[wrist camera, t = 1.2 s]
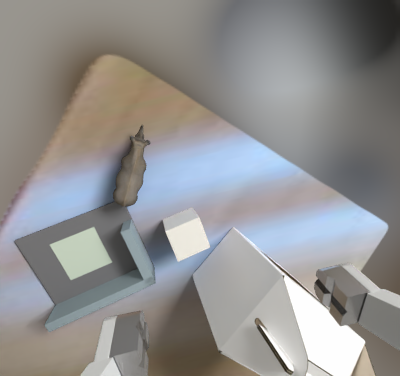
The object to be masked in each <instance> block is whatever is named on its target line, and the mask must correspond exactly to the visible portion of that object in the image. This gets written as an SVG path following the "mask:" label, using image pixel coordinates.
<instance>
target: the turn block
mask: <svg viewBox="0 0 400 376" xmlns="http://www.w3.org/2000/svg"><path fill="white" fill-rule="evenodd" d="M163 223H164V228H165V232H166V234H167V237H168V239H169V241H170V244H171V246H172V248H173V251H174V253H175V255H176V258H177V260H178V262H179V261H181V260H183V259H185V258H188V257H190V256H192V255H194V254H197V253H199V252H201V251H203V250H205V249H208V248H210V245H209V242H208V239H207V237H206V234H205V231H204V229H203V226H202V223H201V221H200V218H199V216H198V215H197V213H196V212H195V211H194V209H193V208H192V207H191V208H189V209H187V210H184V211H182V212H179V213H177V214H175V215H172V216H170V217H167V218H165V219H163Z"/></svg>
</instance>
